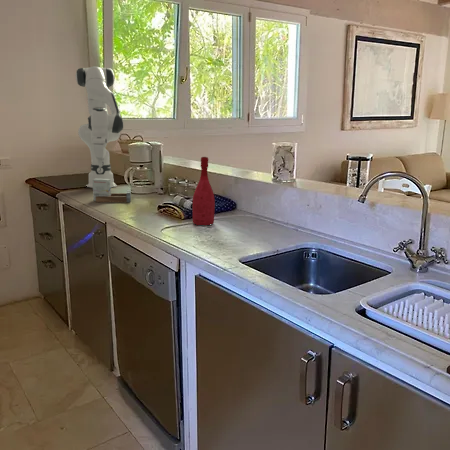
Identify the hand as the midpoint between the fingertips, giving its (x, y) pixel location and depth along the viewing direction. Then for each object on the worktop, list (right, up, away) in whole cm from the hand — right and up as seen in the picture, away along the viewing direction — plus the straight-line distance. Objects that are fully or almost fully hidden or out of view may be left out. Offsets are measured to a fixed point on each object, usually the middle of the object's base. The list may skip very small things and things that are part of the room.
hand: (101, 165), depth 246 cm
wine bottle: (+56, -31, -39) cm, 75 cm away
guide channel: (+5, -18, +6) cm, 20 cm away
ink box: (-1, -18, +5) cm, 19 cm away
